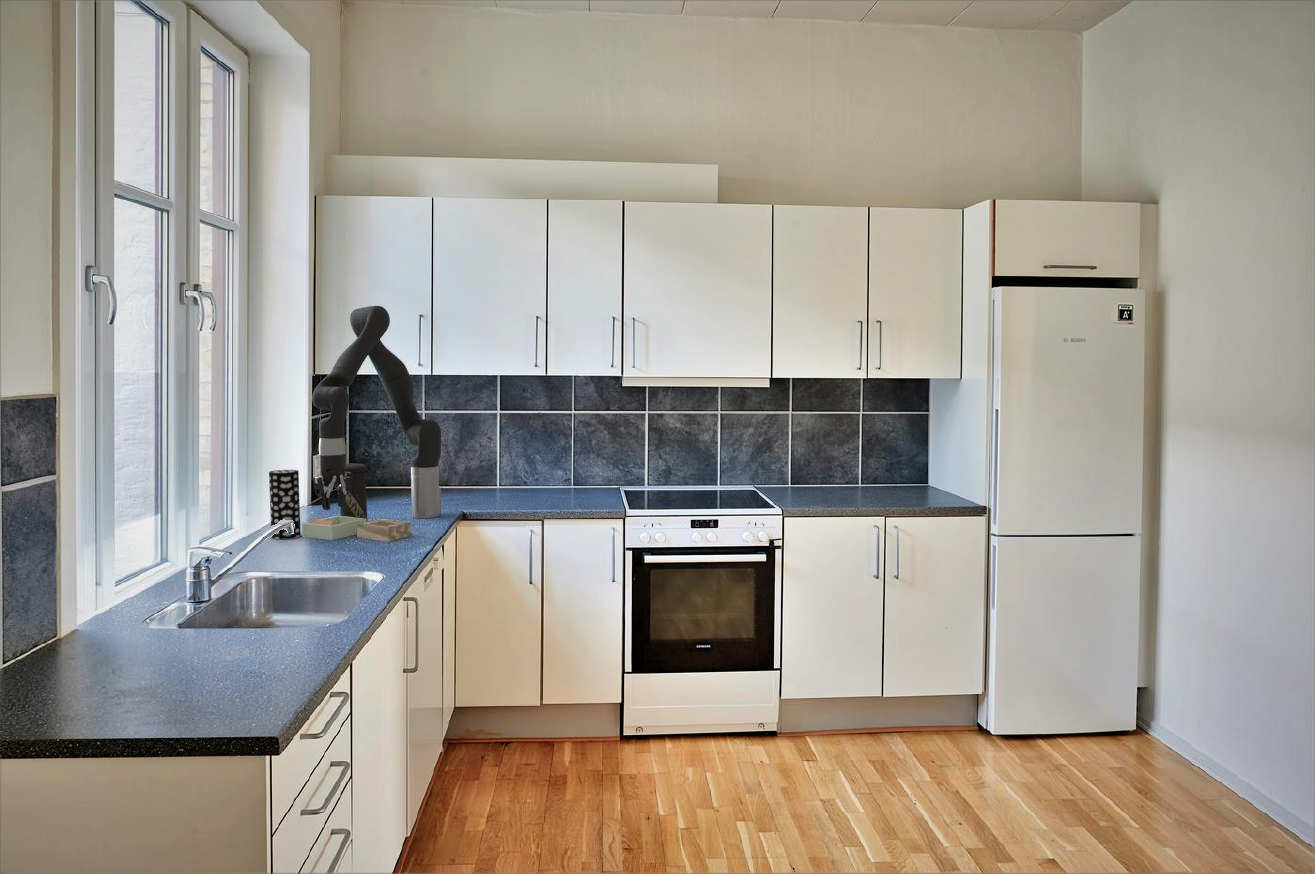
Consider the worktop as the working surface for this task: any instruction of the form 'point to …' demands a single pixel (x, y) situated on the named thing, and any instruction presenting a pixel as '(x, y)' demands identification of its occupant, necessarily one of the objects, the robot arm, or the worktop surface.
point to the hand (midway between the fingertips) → (334, 507)
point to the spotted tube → (285, 500)
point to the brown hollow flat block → (384, 530)
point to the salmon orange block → (323, 522)
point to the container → (356, 493)
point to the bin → (332, 528)
